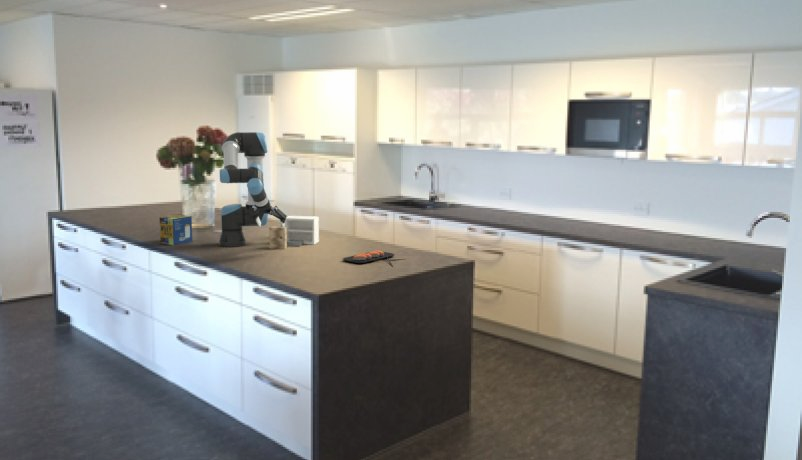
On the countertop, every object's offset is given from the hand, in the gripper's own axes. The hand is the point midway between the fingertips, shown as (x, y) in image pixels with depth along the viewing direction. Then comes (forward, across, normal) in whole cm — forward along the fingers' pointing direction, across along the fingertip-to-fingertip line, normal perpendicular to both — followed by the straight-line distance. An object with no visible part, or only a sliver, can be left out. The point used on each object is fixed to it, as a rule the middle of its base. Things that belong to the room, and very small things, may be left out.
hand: (271, 225), depth 372 cm
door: (+18, 0, -3) cm, 18 cm away
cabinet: (+29, +8, +8) cm, 31 cm away
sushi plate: (+3, +63, -19) cm, 66 cm away
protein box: (+20, -63, -2) cm, 66 cm away
